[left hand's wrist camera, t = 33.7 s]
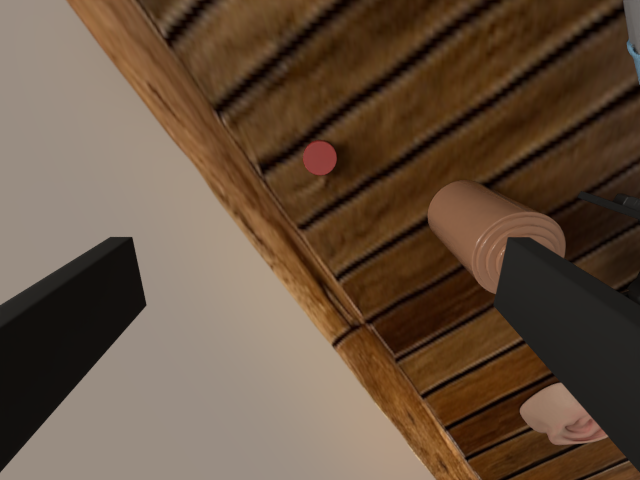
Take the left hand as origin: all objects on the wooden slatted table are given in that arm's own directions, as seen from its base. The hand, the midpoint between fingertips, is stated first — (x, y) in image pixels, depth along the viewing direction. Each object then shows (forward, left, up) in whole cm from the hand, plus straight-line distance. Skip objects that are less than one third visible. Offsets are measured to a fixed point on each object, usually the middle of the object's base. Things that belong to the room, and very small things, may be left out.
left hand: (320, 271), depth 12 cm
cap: (0, 0, -30) cm, 30 cm away
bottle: (-10, +17, -31) cm, 37 cm away
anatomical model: (-6, +56, -31) cm, 64 cm away
